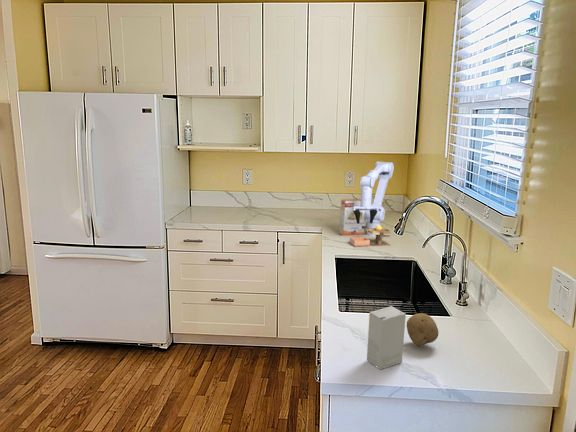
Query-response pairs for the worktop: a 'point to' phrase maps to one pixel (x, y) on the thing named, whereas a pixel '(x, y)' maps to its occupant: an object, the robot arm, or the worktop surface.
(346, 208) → the cracker box
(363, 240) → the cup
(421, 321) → the potato
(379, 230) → the ball
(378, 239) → the stand
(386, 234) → the lever
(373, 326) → the skincare box
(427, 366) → the worktop surface
